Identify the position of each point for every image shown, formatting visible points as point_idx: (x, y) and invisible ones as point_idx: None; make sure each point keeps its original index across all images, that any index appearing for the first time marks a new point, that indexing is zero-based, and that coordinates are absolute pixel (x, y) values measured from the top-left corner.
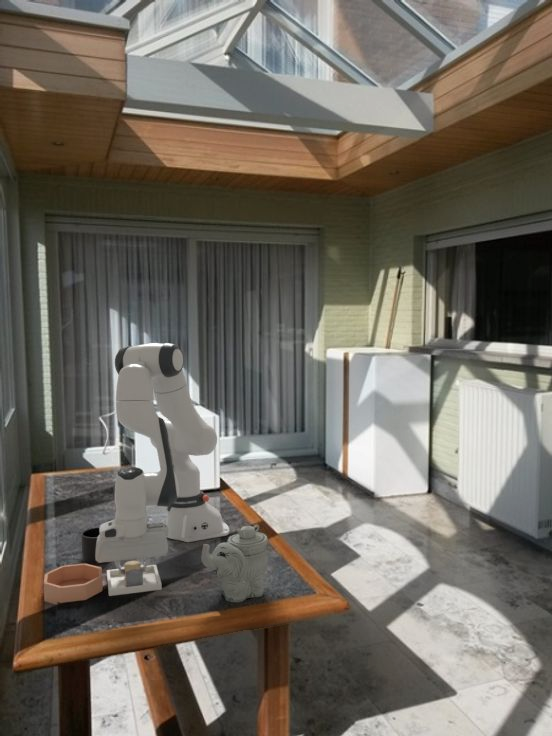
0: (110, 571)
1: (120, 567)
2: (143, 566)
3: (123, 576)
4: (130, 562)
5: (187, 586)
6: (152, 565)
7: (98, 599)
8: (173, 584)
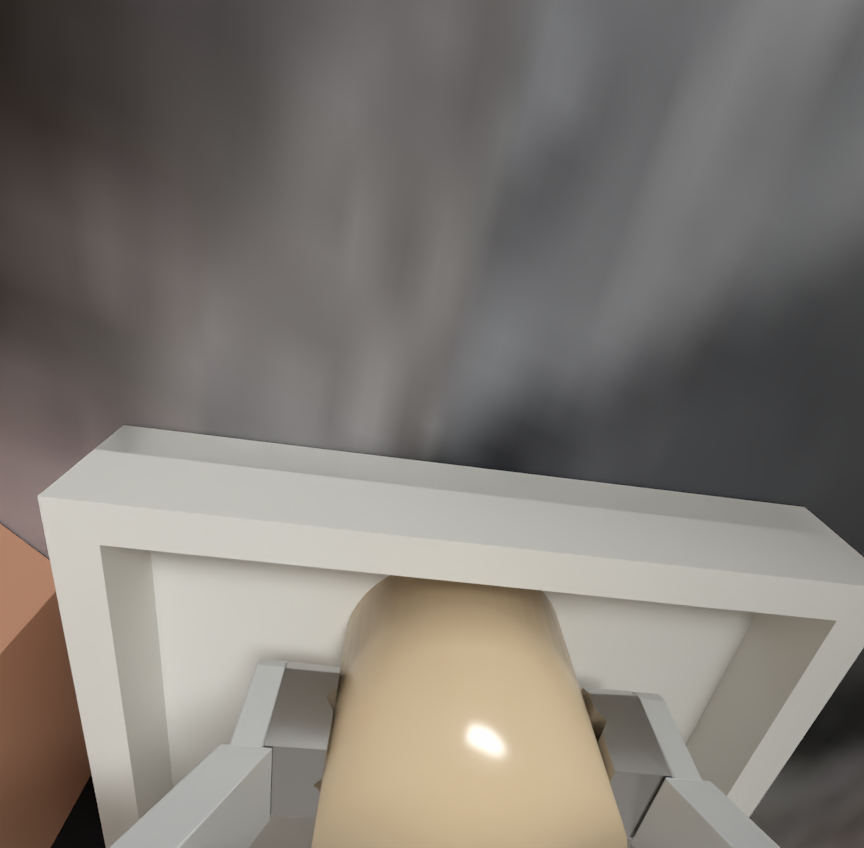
0: (118, 538)
1: (244, 841)
2: (634, 830)
3: (343, 577)
4: (452, 814)
5: (855, 842)
6: (834, 598)
7: (72, 815)
8: (783, 788)
